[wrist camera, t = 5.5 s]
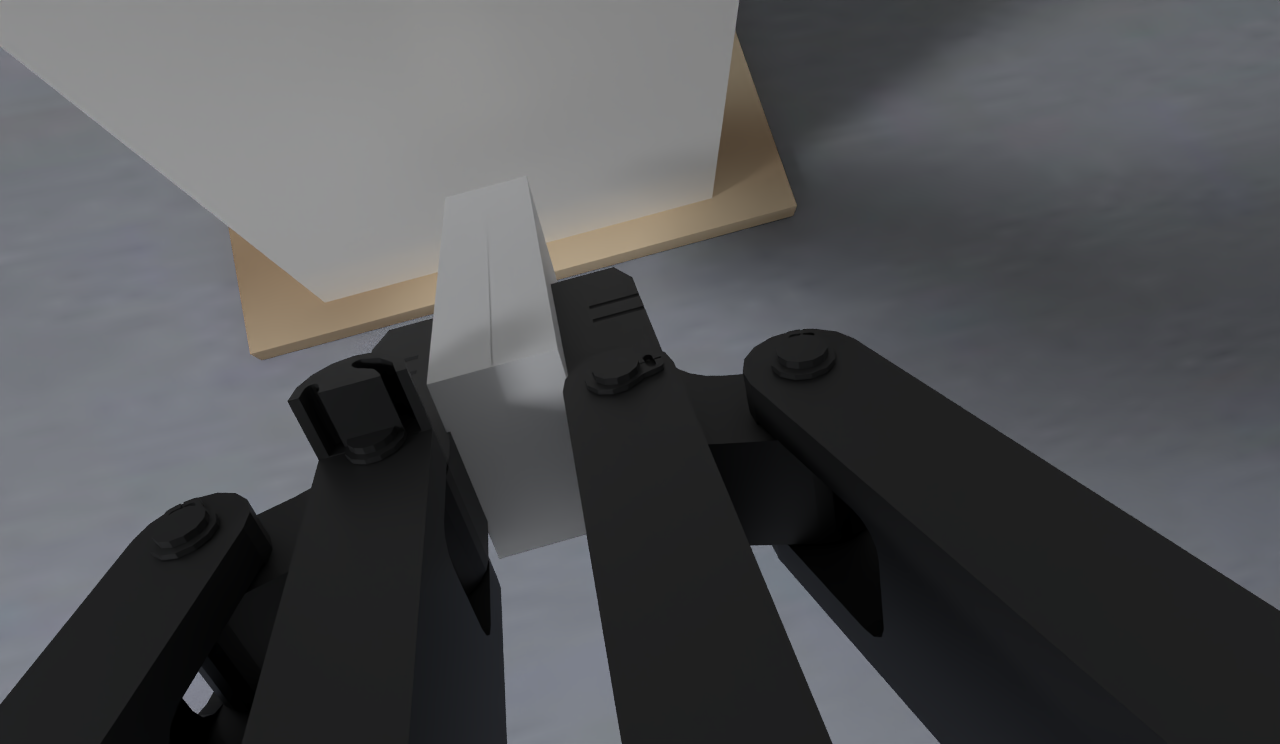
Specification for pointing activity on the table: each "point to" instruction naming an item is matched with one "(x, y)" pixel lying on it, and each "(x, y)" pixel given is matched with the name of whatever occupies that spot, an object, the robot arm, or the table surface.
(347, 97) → the tile
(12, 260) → the table surface
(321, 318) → the mat
